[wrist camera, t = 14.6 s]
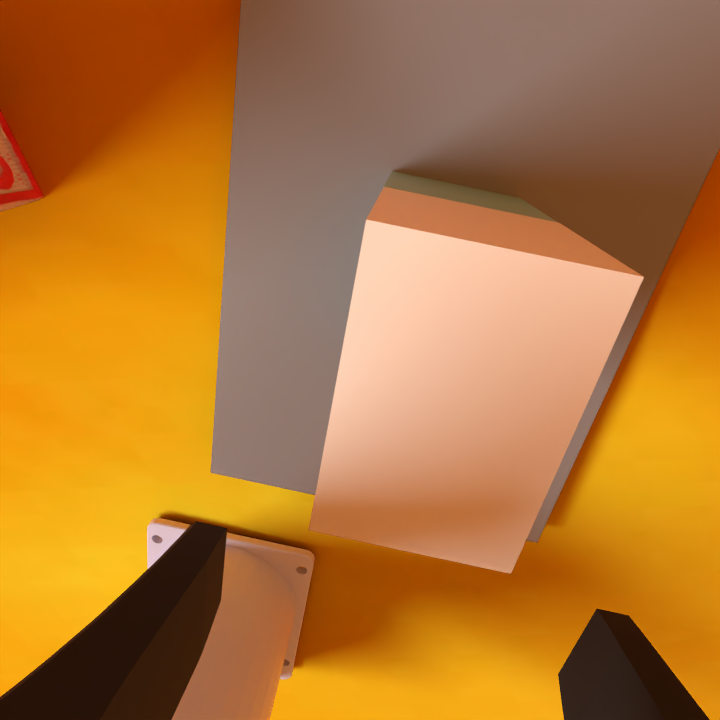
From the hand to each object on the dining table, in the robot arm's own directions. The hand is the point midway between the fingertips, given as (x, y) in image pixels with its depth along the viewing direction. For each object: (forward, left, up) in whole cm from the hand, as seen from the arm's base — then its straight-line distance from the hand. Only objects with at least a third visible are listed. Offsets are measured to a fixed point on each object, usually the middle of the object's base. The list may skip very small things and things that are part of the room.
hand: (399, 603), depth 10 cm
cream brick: (+4, 0, -5) cm, 6 cm away
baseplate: (+4, 0, -10) cm, 11 cm away
